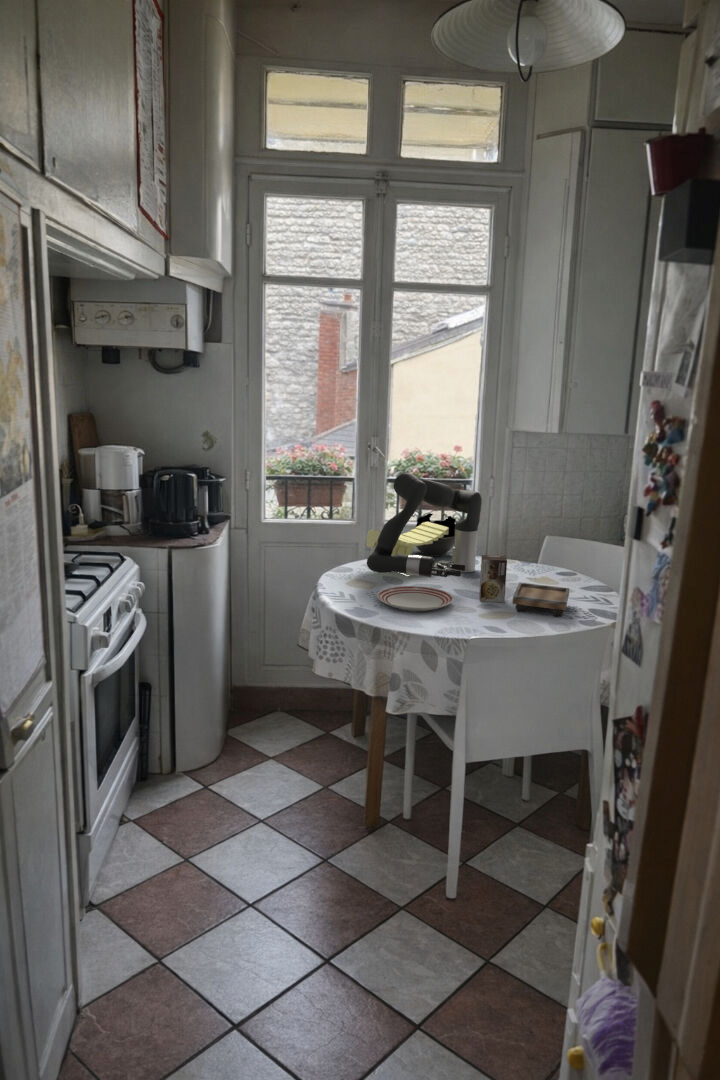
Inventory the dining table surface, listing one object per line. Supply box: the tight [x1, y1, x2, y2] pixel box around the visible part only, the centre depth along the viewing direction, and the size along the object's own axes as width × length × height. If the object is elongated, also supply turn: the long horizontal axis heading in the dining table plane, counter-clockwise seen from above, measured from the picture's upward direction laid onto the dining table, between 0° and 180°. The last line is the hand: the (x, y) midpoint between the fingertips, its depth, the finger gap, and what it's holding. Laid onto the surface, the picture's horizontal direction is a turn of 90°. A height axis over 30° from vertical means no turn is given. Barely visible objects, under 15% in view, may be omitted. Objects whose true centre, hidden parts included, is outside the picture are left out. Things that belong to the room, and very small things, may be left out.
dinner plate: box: [376, 585, 455, 612], centre depth 285 cm, size 28×27×3 cm
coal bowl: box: [413, 512, 457, 557], centre depth 351 cm, size 20×20×19 cm
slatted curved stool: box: [366, 521, 449, 575], centre depth 326 cm, size 30×16×18 cm, turn 127°
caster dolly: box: [512, 582, 570, 617], centre depth 284 cm, size 18×18×6 cm
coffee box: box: [478, 554, 508, 603], centre depth 291 cm, size 9×6×16 cm
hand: (463, 570), depth 294 cm, fingers open, 8 cm apart
